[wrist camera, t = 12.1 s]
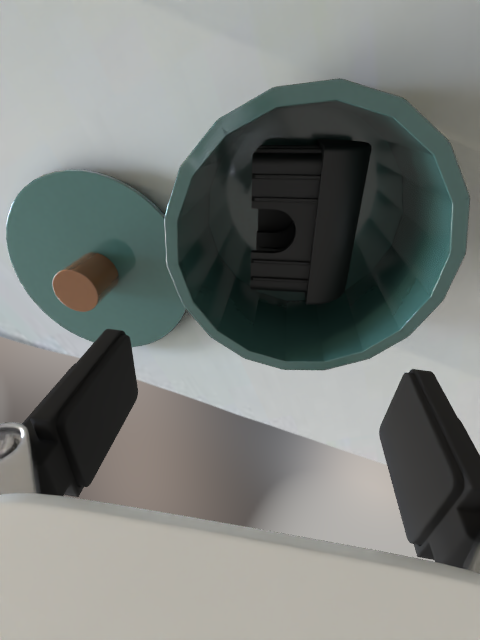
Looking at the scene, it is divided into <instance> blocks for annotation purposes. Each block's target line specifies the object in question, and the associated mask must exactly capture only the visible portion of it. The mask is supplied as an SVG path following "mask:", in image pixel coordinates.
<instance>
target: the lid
mask: <svg viewBox="0 0 480 640" xmlns="http://www.w3.org/2000/svg"><path fill="white" fill-rule="evenodd" d="M164 216H165V215H164V214H163V213H162V211H161V210H160V209H159V208H158V207H157V206H156V205H155V204H154V203H153V202H152V201H151V200H149V199H148V198H147V197H146V196H144V195H143V194H142V193H140V192H139V191H138V190H136V189H134V188H133V187H131V186H130V185H128V184H126V183H124V182H122V181H120V180H118V179H116V178H114V177H111V176H108V175H105V174H102V173H99V172H94V171H89V170H77V169H69V170H61V171H56V172H52V173H49V174H46V175H43V176H41V177H39V178H37V179H35V180H33V181H32V182H31V183H29V184H28V185H27V186H25V187H24V188H23V189H22V191H21V192H20V193H19V194H18V195H17V197H16V199H15V200H14V202H13V204H12V206H11V209H10V212H9V215H8V219H7V226H6V240H7V248H8V253H9V256H10V260H11V263H12V266H13V268H14V271H15V273H16V275H17V277H18V279H19V281H20V283H21V284H22V286H23V287H24V289H25V290H26V292H27V293H28V295H29V296H30V297H31V298H32V300H33V301H34V302H35V303H36V304H37V305H38V306H39V308H40V309H41V310H42V311H43V312H44V313H46V314H47V315H48V316H49V317H50V318H51V319H52V320H54V321H55V322H56V323H58V324H59V325H60V326H62V327H63V328H65V329H67V330H68V331H70V332H72V333H74V334H76V335H77V336H79V337H82V338H84V339H87V340H89V341H92V342H95V341H96V340H97V339H98V338H99V336H100V335H101V334H102V333H103V332H104V331H105V330H106V329H114V330H122V331H124V332H125V334H126V335H128V336H129V337H130V341H131V347H137V346H142V345H146V344H150V343H152V342H154V341H157V340H159V339H161V338H162V337H164V336H165V335H167V334H168V333H169V332H170V331H172V330H173V329H174V328H175V326H176V325H177V324H178V323H179V321H180V320H181V318H182V316H183V315H184V313H185V311H186V308H185V307H184V305H183V304H182V302H181V299H180V297H179V294H178V292H177V289H176V287H175V285H174V282H173V280H172V277H171V275H170V272H169V270H168V268H167V264H166V244H165V223H164V218H165V217H164Z"/></svg>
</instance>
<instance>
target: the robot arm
mask: <svg viewBox="0 0 480 640" xmlns="http://www.w3.org/2000/svg"><path fill="white" fill-rule="evenodd" d="M137 395H138V388H137V381H136V375H135V368H134V361H133V354H132V347H131V341H130V337H129V336H128V335H126V334H125V332H124V331H122V330H114V329H106V330H105V331H104V332H103V333H102V334H101V335H100V336H99V338H98V339H97V340H96V341H95V342H94V343H93V345H92V346H91V347H90V348H89V349H88V350H87V351H86V353H85V354H84V355H83V356H82V357H81V358H80V360H79V361H78V362H77V363H76V364H74V365H73V366H72V367H71V368H70V369H69V370H68V372H67V373H66V374H65V375H64V376H63V377H62V379H61V380H60V381H59V382H58V383H57V384H56V386H55V387H54V388H53V389H52V390H51V391H50V392H49V394H48V395H47V396H46V397H45V398H44V399H43V400H42V402H41V403H40V404H39V405H38V406H37V407H36V408H35V410H34V411H33V412H32V413H31V414H30V415H29V417H28V418H27V419H26V420H25V421H24V422H23V423H22V424H20V423H16V422H6V423H1V424H0V640H480V455H479V453H478V452H477V450H476V448H475V446H474V444H473V442H472V441H471V439H470V437H469V435H468V433H467V431H466V430H465V428H464V426H463V424H462V422H461V421H460V420H459V418H457V416H456V414H455V412H454V410H453V408H452V407H451V405H450V403H449V401H448V399H447V397H446V395H445V394H444V392H443V390H442V388H441V386H440V384H439V383H438V381H437V379H436V377H435V375H434V374H433V373H432V372H431V371H423V370H416V369H412V370H411V371H410V372H409V373H405V374H404V375H403V377H402V379H401V381H400V383H399V386H398V388H397V390H396V392H395V395H394V397H393V399H392V401H391V403H390V406H389V408H388V410H387V412H386V415H385V417H384V419H383V421H382V424H381V426H380V431H379V434H380V440H381V443H382V447H383V451H384V455H385V458H386V462H387V466H388V469H389V473H390V477H391V480H392V484H393V487H394V492H395V495H396V499H397V503H398V506H399V510H400V513H401V517H402V521H403V524H404V528H405V532H406V536H407V539H408V541H409V542H410V543H413V544H414V546H415V550H416V553H417V556H418V557H422V558H428V559H433V560H435V562H433V561H427V560H423V559H418V558H412V557H407V556H402V555H397V554H392V553H387V552H383V551H377V550H372V549H366V548H360V547H355V546H350V545H344V544H339V543H333V542H328V541H322V540H316V539H311V538H306V537H300V536H294V535H289V534H284V533H278V532H272V531H266V530H261V529H256V528H250V527H244V526H239V525H233V524H227V523H221V522H216V521H210V520H204V519H199V518H193V517H187V516H181V515H175V514H169V513H164V512H158V511H152V510H146V509H140V508H135V507H129V506H123V505H117V504H111V503H105V502H98V501H91V500H85V499H78V498H71V497H64V496H63V495H64V494H65V495H70V496H76V497H79V495H80V493H81V491H82V489H83V488H84V487H88V486H89V485H90V484H91V482H92V480H93V478H94V477H95V475H96V473H97V471H98V469H99V467H100V466H101V463H102V462H103V460H104V458H105V456H106V454H107V453H108V451H109V449H110V447H111V445H112V444H113V442H114V440H115V438H116V436H117V434H118V433H119V431H120V429H121V427H122V425H123V423H124V422H125V420H126V418H127V416H128V414H129V412H130V410H131V409H132V407H133V405H134V403H135V401H136V399H137Z"/></svg>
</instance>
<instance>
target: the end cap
mask: <svg viewBox="0 0 480 640" xmlns="http://www.w3.org/2000/svg"><path fill="white" fill-rule="evenodd" d="M371 150H372V147H371V145H370V144H369V143H367V142H361V141H352V140H331V139H318V140H317V145H261V146H260V147H259V148H258V149H257V150H256V151H255V152H254V153H253V157H252V203H251V209H258V231H257V237H256V250H251V278H250V288H251V289H254V290H272V291H290V292H305V301H306V304H323V303H328V302H331V301H334V300H336V299H338V298H339V297H340V296H341V295H342V294H343V293H344V291H345V288H346V283H347V278H348V272H349V267H350V262H351V256H352V251H353V246H354V240H355V235H356V230H357V224H358V219H359V214H360V208H361V203H362V198H363V192H364V187H365V182H366V176H367V171H368V166H369V160H370V155H371Z"/></svg>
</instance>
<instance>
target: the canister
mask: <svg viewBox="0 0 480 640" xmlns="http://www.w3.org/2000/svg"><path fill="white" fill-rule="evenodd" d="M318 139H331V140H352V141H361V142H367V143H369V144H370V145H371V147H372V150H371V155H370V160H369V166H368V171H367V176H366V182H365V187H364V192H363V198H362V203H361V208H360V214H359V219H358V224H357V230H356V235H355V240H354V246H353V251H352V256H351V262H350V267H349V272H348V278H347V283H346V288H345V291H344V293H343V294H342V295H341V296H340V297H339V298H338V299H336V300H334V301H331V302H328V303H323V304H306V301H305V292H290V291H272V290H254V289H251V288H250V278H251V250H256V237H257V231H258V209H251V203H252V157H253V153H254V152H255V151H256V150H257V149H258V148H259V147H260V146H261V145H317V140H318ZM469 197H470V195H469V193H468V190H467V187H466V184H465V182H464V179H463V176H462V173H461V171H460V168H459V165H458V162H457V160H456V157H455V154H454V151H453V149H452V146H451V143H450V142H449V140H448V139H447V138H446V137H445V136H444V135H442V134H441V133H440V132H439V131H438V130H437V129H436V128H435V127H434V126H433V125H432V124H431V123H430V122H429V121H428V120H427V119H426V118H425V117H424V116H423V115H422V114H421V113H419V112H418V111H417V110H416V109H415V108H414V107H413V106H412V105H411V104H410V103H409V102H408V101H407V100H406V99H404V98H402V97H399V96H396V95H393V94H389V93H386V92H383V91H380V90H377V89H373V88H370V87H367V86H364V85H361V84H358V83H354V82H351V81H348V80H345V79H332V80H324V81H316V82H309V83H301V84H293V85H285V86H277V87H274V88H271V89H269V90H268V91H266V92H264V93H262V94H261V95H259V96H257V97H255V98H254V99H252V100H250V101H249V102H247V103H245V104H243V105H242V106H240V107H238V108H236V109H235V110H233V111H231V112H230V113H228V114H226V115H224V116H223V117H221V118H219V119H218V120H217V121H216V122H215V123H214V124H213V126H212V127H211V128H210V129H209V131H208V132H207V133H206V134H205V136H204V137H203V138H202V140H201V141H200V142H199V143H198V145H197V146H196V147H195V148H194V150H193V151H192V152H191V153H190V155H189V156H188V157H187V158H186V160H185V161H184V162H183V164H182V165H181V167H180V169H179V172H178V175H177V178H176V181H175V184H174V188H173V191H172V194H171V197H170V200H169V203H168V207H167V210H166V213H165V216H164V217H165V218H164V223H165V244H166V264H167V268H168V270H169V272H170V275H171V277H172V280H173V282H174V285H175V287H176V289H177V292H178V294H179V297H180V299H181V302H182V304H183V305H184V307H185V308H186V309H187V310H188V311H189V313H190V314H191V315H192V316H193V317H194V318H195V320H196V321H197V322H198V323H199V324H200V325H201V327H202V328H203V329H204V330H205V331H206V332H207V334H208V335H209V336H210V337H211V338H213V339H214V340H216V341H218V342H219V343H221V344H222V345H224V346H225V347H227V348H229V349H230V350H232V351H233V352H235V353H237V354H238V355H240V356H241V357H243V358H245V359H248V360H252V361H255V362H259V363H262V364H266V365H269V366H273V367H276V368H279V369H284V370H327V369H331V368H335V367H339V366H343V365H347V364H351V363H355V362H359V361H363V360H367V359H370V358H372V357H373V356H375V355H377V354H379V353H380V352H382V351H384V350H386V349H387V348H389V347H391V346H393V345H394V344H396V343H398V342H400V341H401V340H403V339H405V338H407V337H408V336H410V335H411V333H412V332H413V331H414V330H415V329H416V328H417V327H418V326H419V325H420V324H421V323H422V322H423V321H424V320H425V319H426V318H427V317H428V316H429V315H430V314H431V313H432V312H433V311H434V310H435V309H436V308H437V306H438V305H439V304H440V303H441V302H442V301H443V300H444V298H445V296H446V294H447V292H448V290H449V287H450V285H451V283H452V281H453V279H454V277H455V275H456V273H457V271H458V269H459V267H460V264H461V262H462V260H463V258H464V256H465V254H466V244H467V231H468V218H469V205H470V198H469Z"/></svg>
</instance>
